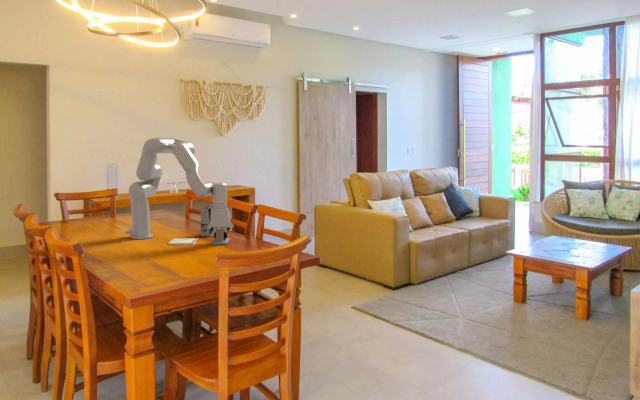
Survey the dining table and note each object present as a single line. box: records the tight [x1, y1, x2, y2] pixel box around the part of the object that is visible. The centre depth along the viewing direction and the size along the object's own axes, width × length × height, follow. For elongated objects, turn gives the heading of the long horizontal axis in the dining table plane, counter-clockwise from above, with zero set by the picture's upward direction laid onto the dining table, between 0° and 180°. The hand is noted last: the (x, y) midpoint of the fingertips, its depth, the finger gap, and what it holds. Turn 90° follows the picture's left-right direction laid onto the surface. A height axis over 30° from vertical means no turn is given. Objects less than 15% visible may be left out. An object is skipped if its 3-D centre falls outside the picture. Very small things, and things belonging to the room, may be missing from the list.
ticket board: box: [168, 237, 199, 246], centre depth 266 cm, size 13×12×1 cm
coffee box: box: [199, 206, 214, 237], centre depth 285 cm, size 9×6×16 cm
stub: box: [210, 227, 231, 245], centre depth 266 cm, size 8×12×7 cm, turn 2°
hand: (220, 238), depth 266 cm, fingers closed on stub, 4 cm apart
